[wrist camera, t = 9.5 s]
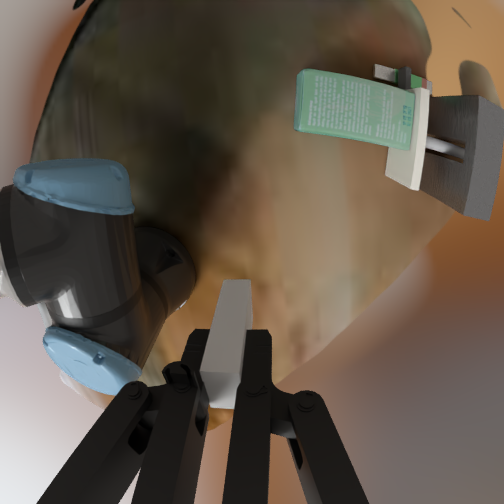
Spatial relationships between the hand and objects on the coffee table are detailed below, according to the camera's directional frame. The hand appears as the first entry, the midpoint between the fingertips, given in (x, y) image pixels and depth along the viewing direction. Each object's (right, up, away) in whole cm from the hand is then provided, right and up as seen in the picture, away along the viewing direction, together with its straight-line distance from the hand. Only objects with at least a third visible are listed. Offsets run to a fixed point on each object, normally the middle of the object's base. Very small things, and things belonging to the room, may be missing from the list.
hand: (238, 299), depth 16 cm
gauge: (+23, +20, +15) cm, 34 cm away
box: (+13, +21, +15) cm, 29 cm away
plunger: (+26, +20, +14) cm, 35 cm away
